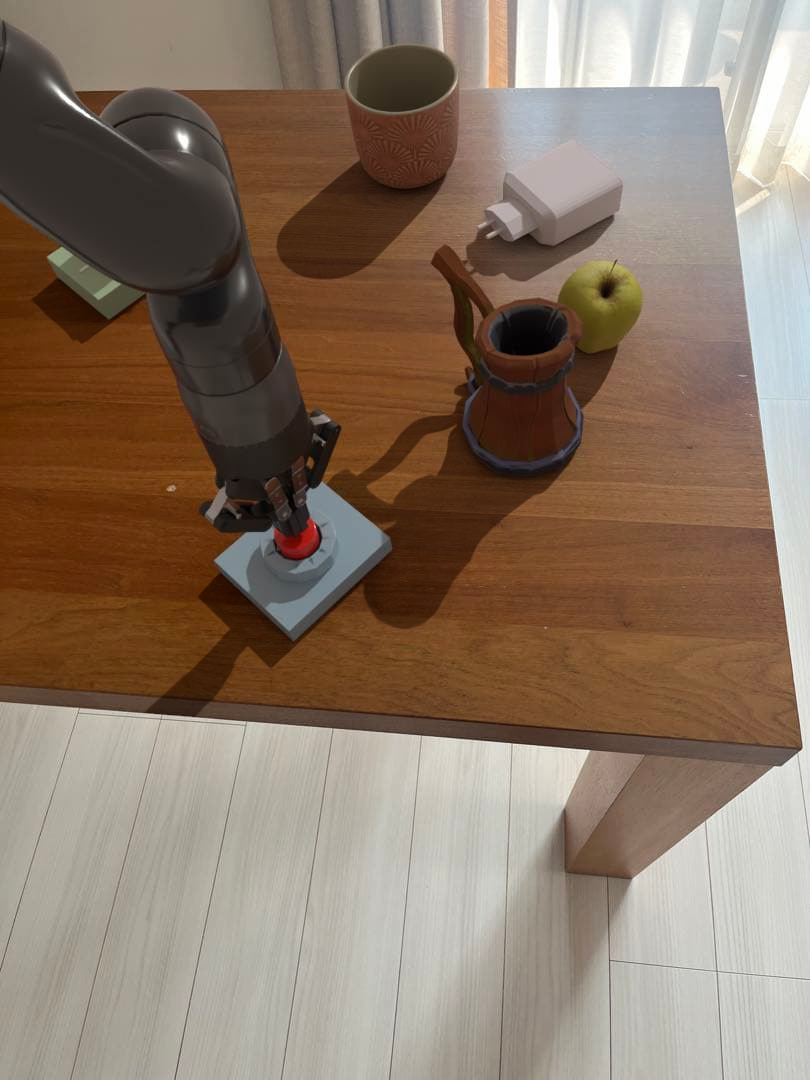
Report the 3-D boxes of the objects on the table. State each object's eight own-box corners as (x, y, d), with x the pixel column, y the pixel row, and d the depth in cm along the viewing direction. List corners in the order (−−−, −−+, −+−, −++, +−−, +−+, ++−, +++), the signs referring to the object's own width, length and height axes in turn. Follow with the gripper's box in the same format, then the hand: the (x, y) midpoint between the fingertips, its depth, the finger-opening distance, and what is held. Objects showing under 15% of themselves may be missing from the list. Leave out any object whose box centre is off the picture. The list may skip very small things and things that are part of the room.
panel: (110, 321, 96) (99, 300, 93) (55, 275, 100) (43, 254, 97) (202, 255, 100) (194, 233, 97) (146, 213, 104) (136, 191, 101)
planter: (483, 168, 103) (482, 80, 93) (395, 216, 100) (385, 130, 91) (422, 117, 108) (415, 29, 99) (337, 160, 106) (322, 74, 96)
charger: (458, 227, 98) (567, 171, 101) (506, 275, 94) (618, 215, 97) (457, 191, 94) (570, 134, 97) (507, 240, 90) (624, 179, 93)
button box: (293, 641, 75) (284, 622, 72) (219, 571, 79) (207, 550, 76) (392, 549, 79) (388, 527, 75) (317, 487, 83) (309, 463, 79)
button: (297, 567, 75) (293, 557, 73) (269, 542, 76) (265, 532, 75) (327, 539, 76) (324, 529, 74) (300, 515, 77) (296, 505, 76)
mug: (399, 382, 88) (384, 268, 75) (491, 327, 91) (492, 208, 78) (512, 503, 80) (516, 400, 67) (609, 439, 83) (631, 328, 70)
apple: (555, 290, 91) (593, 222, 82) (625, 322, 91) (671, 258, 82) (532, 347, 88) (569, 282, 79) (605, 380, 88) (650, 319, 79)
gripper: (280, 313, 62) (321, 453, 78) (132, 428, 59) (206, 552, 74) (353, 367, 59) (381, 502, 75) (203, 492, 56) (264, 608, 71)
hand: (294, 527), depth 74 cm, fingers closed
